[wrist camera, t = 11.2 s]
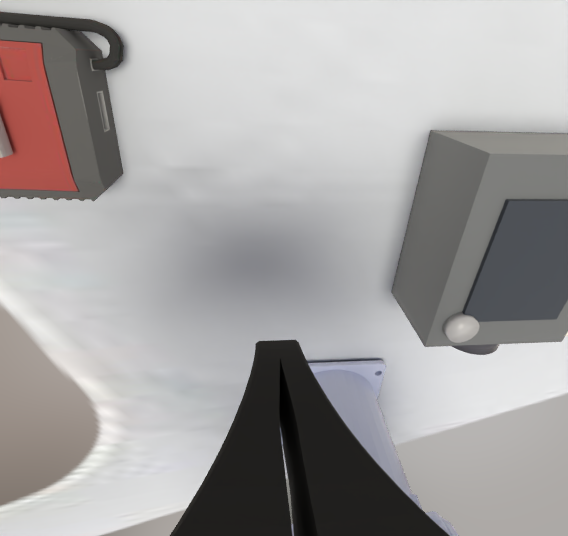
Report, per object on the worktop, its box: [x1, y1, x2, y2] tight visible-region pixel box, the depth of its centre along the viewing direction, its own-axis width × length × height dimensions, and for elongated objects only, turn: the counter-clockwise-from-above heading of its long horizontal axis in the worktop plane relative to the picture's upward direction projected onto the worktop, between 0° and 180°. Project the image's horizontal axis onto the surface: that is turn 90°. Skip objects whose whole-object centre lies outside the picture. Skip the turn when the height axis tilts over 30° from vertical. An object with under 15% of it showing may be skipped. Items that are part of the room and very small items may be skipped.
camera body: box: [392, 130, 568, 355], centre depth 18 cm, size 11×8×6 cm
